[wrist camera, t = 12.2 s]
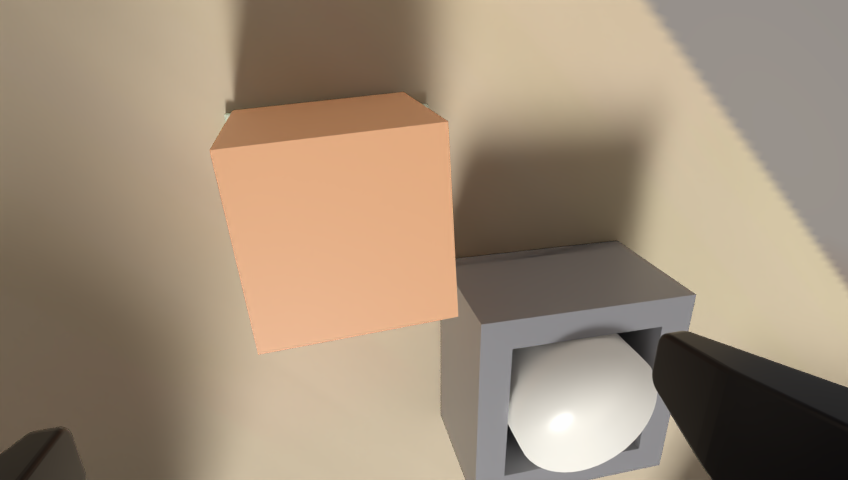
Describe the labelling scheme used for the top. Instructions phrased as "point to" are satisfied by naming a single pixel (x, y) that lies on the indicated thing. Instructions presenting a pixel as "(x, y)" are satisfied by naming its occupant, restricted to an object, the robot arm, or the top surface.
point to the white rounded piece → (578, 401)
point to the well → (543, 324)
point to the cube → (339, 217)
